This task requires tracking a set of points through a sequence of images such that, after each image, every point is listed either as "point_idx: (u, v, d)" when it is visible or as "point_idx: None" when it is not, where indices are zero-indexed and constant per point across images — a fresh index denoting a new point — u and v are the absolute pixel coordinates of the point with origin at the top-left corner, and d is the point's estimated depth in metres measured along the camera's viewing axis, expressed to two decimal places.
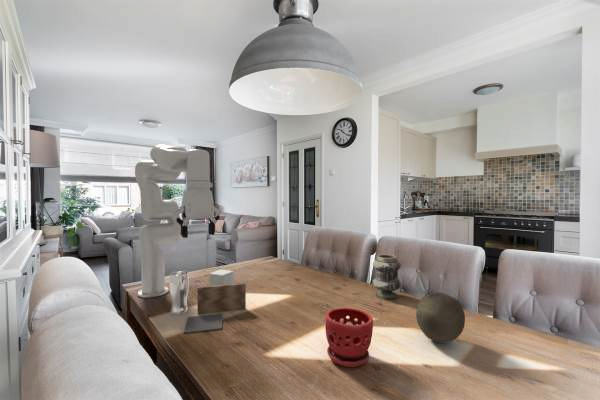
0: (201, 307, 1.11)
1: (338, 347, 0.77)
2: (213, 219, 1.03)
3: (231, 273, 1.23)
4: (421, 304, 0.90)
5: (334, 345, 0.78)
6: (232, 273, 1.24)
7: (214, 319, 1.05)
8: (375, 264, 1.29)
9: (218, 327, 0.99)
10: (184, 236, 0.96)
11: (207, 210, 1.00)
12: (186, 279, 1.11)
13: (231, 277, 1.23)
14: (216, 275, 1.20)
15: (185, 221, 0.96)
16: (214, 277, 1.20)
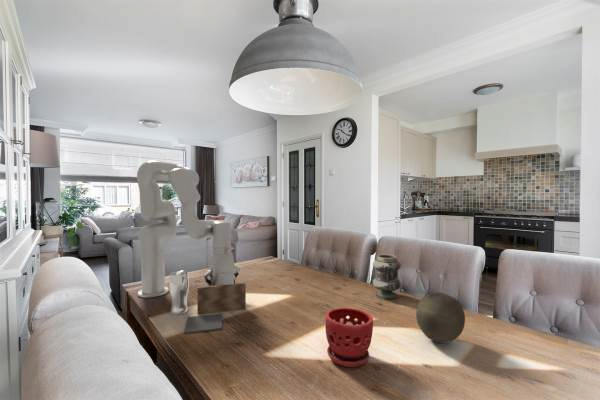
0: (201, 307, 1.11)
1: (338, 347, 0.77)
2: None
3: (231, 274, 1.23)
4: (421, 304, 0.90)
5: (334, 345, 0.78)
6: (232, 273, 1.24)
7: (214, 319, 1.05)
8: (375, 264, 1.29)
9: (218, 327, 0.99)
10: None
11: (229, 270, 1.23)
12: (186, 279, 1.11)
13: (231, 277, 1.23)
14: None
15: (212, 281, 1.18)
16: None
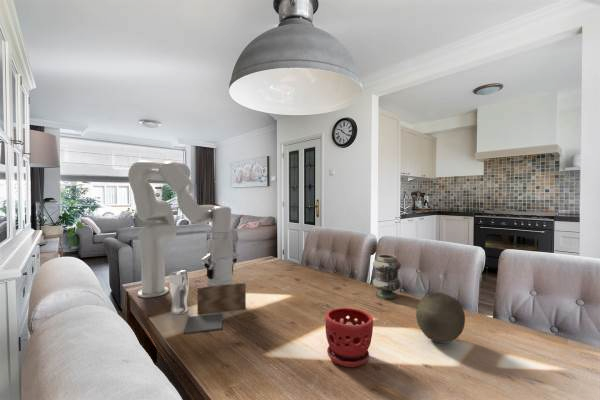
0: (201, 307, 1.11)
1: (338, 347, 0.77)
2: (232, 262, 1.25)
3: (230, 259, 1.23)
4: (421, 304, 0.90)
5: (334, 345, 0.78)
6: (231, 259, 1.24)
7: (214, 319, 1.05)
8: (375, 264, 1.29)
9: (218, 327, 0.99)
10: (209, 277, 1.19)
11: (228, 255, 1.23)
12: (186, 279, 1.11)
13: (229, 262, 1.23)
14: None
15: (211, 266, 1.18)
16: None
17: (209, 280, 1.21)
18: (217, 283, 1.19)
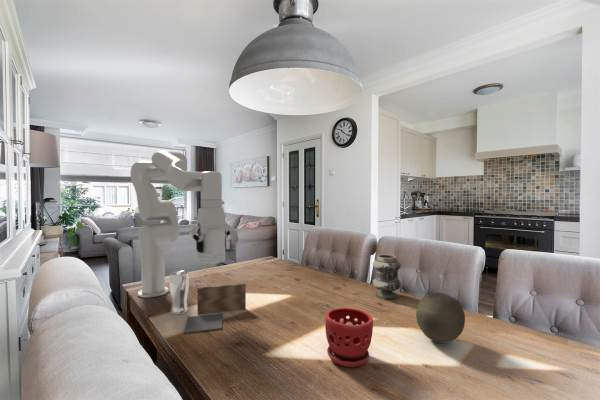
0: (201, 307, 1.11)
1: (338, 347, 0.77)
2: None
3: (222, 230, 1.10)
4: (421, 304, 0.90)
5: (334, 345, 0.78)
6: (223, 230, 1.10)
7: (214, 319, 1.05)
8: (375, 264, 1.29)
9: (218, 327, 0.99)
10: (200, 251, 1.06)
11: (220, 226, 1.09)
12: (186, 279, 1.11)
13: (222, 234, 1.10)
14: None
15: (201, 237, 1.05)
16: None
17: (199, 254, 1.07)
18: (209, 257, 1.06)
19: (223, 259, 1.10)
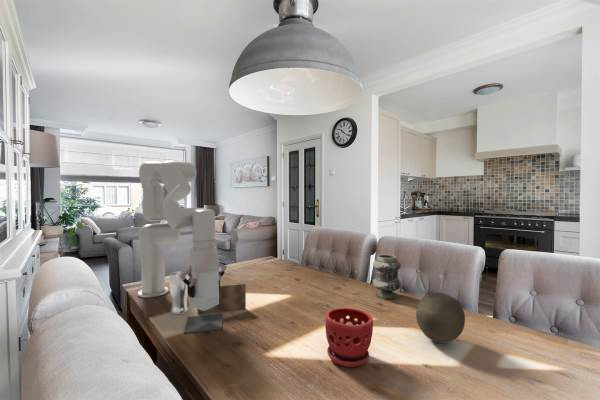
0: None
1: (338, 347, 0.77)
2: None
3: (215, 272, 1.02)
4: (421, 304, 0.90)
5: (334, 345, 0.78)
6: (217, 272, 1.03)
7: (214, 319, 1.05)
8: (375, 264, 1.29)
9: (218, 327, 0.99)
10: (191, 296, 0.98)
11: (213, 268, 1.02)
12: None
13: (215, 276, 1.02)
14: None
15: (192, 281, 0.98)
16: None
17: (191, 299, 1.00)
18: (200, 302, 0.98)
19: (216, 303, 1.03)
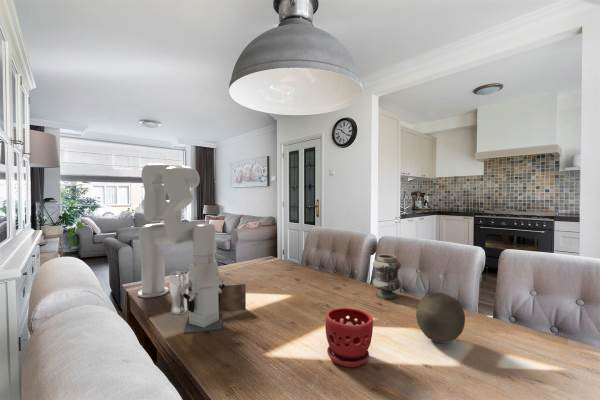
0: None
1: (338, 347, 0.77)
2: (218, 289, 1.05)
3: (215, 288, 1.03)
4: (421, 304, 0.90)
5: (334, 345, 0.78)
6: (216, 288, 1.03)
7: None
8: (375, 264, 1.29)
9: (218, 327, 0.99)
10: (190, 310, 0.98)
11: (213, 282, 1.02)
12: (186, 279, 1.11)
13: (215, 293, 1.02)
14: None
15: (191, 296, 0.98)
16: None
17: (191, 315, 1.01)
18: (200, 319, 0.99)
19: (216, 319, 1.03)
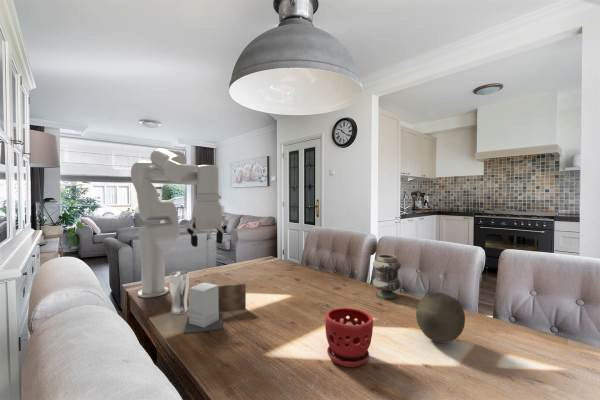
0: None
1: (338, 347, 0.77)
2: (221, 229, 1.11)
3: (215, 288, 1.03)
4: (421, 304, 0.90)
5: (334, 345, 0.78)
6: (216, 288, 1.03)
7: None
8: (375, 264, 1.29)
9: (218, 327, 0.99)
10: (194, 245, 1.04)
11: (215, 221, 1.08)
12: (186, 279, 1.11)
13: (215, 293, 1.02)
14: (196, 290, 0.99)
15: (195, 231, 1.04)
16: (194, 292, 1.00)
17: (191, 315, 1.01)
18: (200, 319, 0.99)
19: (216, 319, 1.03)
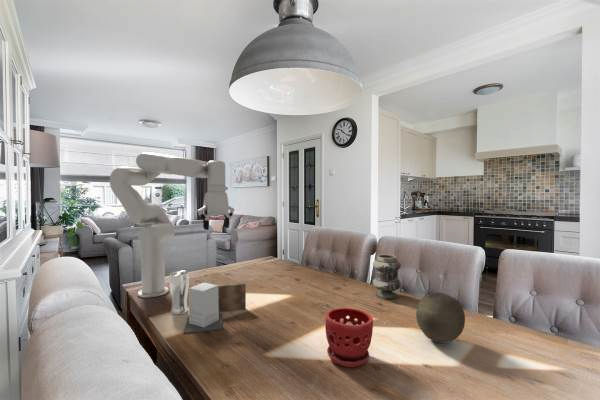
0: None
1: (338, 347, 0.77)
2: (228, 215, 1.30)
3: (215, 288, 1.03)
4: (421, 304, 0.90)
5: (334, 345, 0.78)
6: (216, 288, 1.03)
7: None
8: (375, 264, 1.29)
9: (218, 327, 0.99)
10: (206, 228, 1.23)
11: (223, 208, 1.27)
12: (186, 279, 1.11)
13: (215, 293, 1.02)
14: (196, 290, 0.99)
15: (207, 217, 1.22)
16: (194, 292, 1.00)
17: (191, 315, 1.01)
18: (200, 319, 0.99)
19: (216, 319, 1.03)
